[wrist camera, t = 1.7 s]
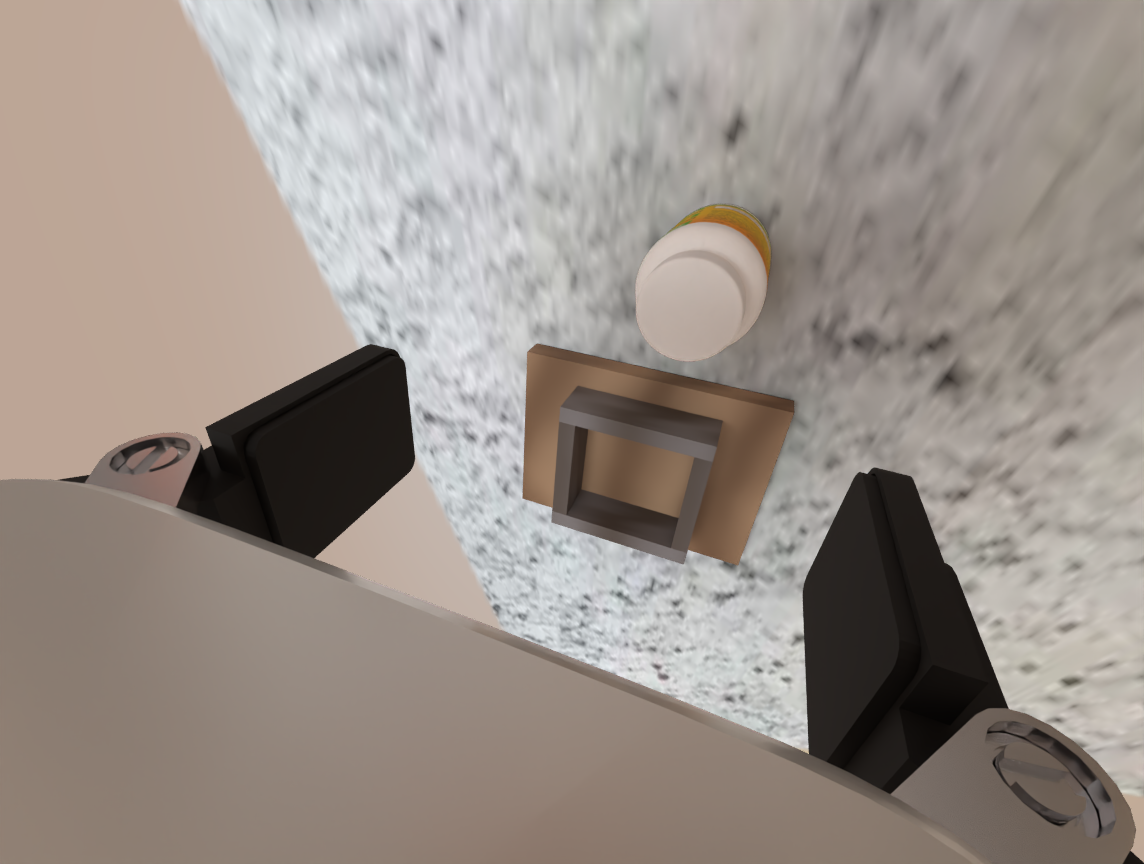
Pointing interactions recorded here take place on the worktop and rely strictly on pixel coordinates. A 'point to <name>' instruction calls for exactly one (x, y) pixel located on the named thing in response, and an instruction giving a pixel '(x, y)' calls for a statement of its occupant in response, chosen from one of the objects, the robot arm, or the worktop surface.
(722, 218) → the supplement bottle
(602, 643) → the worktop surface
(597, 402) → the collar board
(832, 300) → the worktop surface
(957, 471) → the worktop surface
